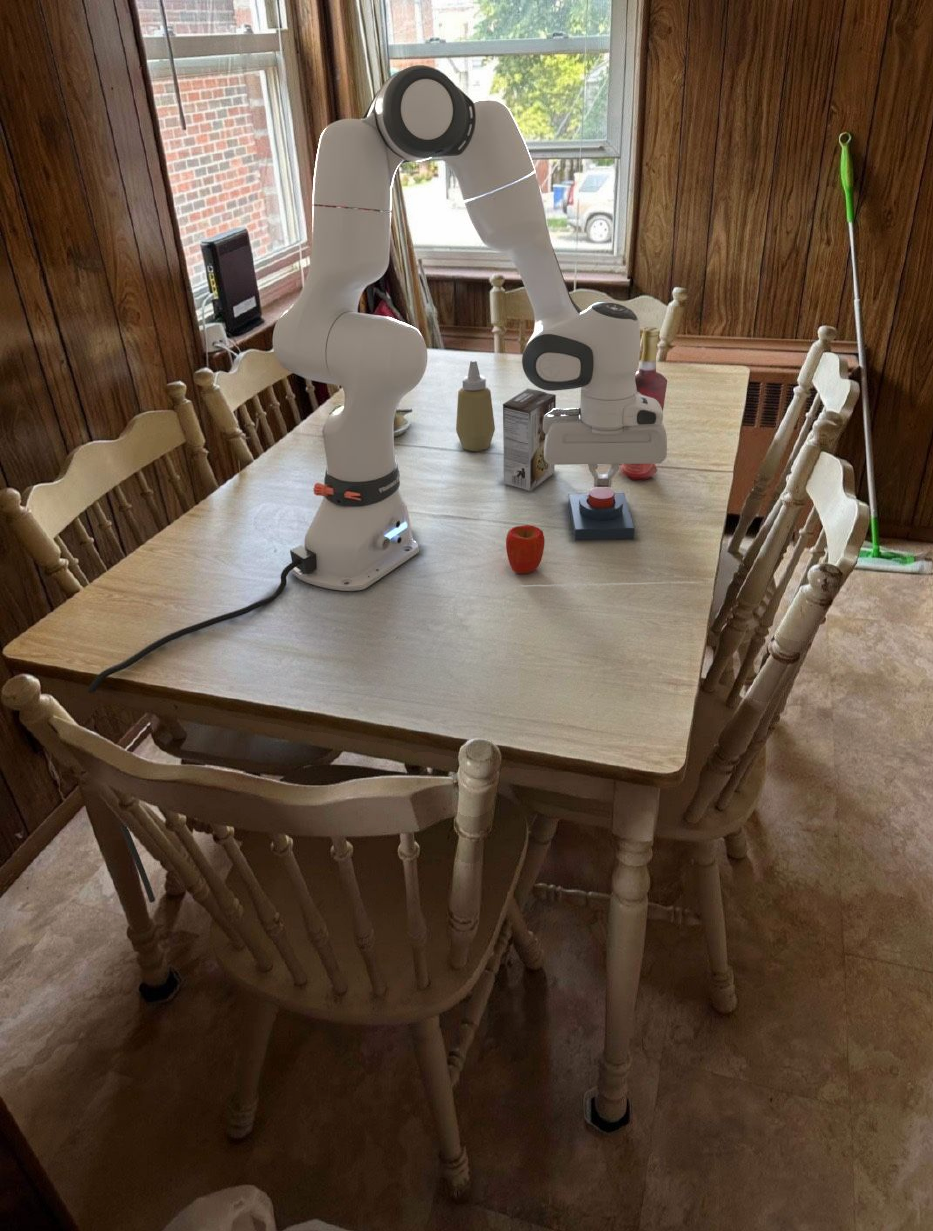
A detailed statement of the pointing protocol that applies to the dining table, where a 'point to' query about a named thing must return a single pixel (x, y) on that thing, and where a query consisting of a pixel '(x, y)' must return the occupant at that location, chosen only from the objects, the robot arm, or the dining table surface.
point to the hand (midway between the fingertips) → (602, 485)
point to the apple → (525, 548)
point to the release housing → (600, 519)
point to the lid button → (601, 497)
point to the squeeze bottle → (474, 411)
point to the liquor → (647, 394)
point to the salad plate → (397, 420)
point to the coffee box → (526, 439)
